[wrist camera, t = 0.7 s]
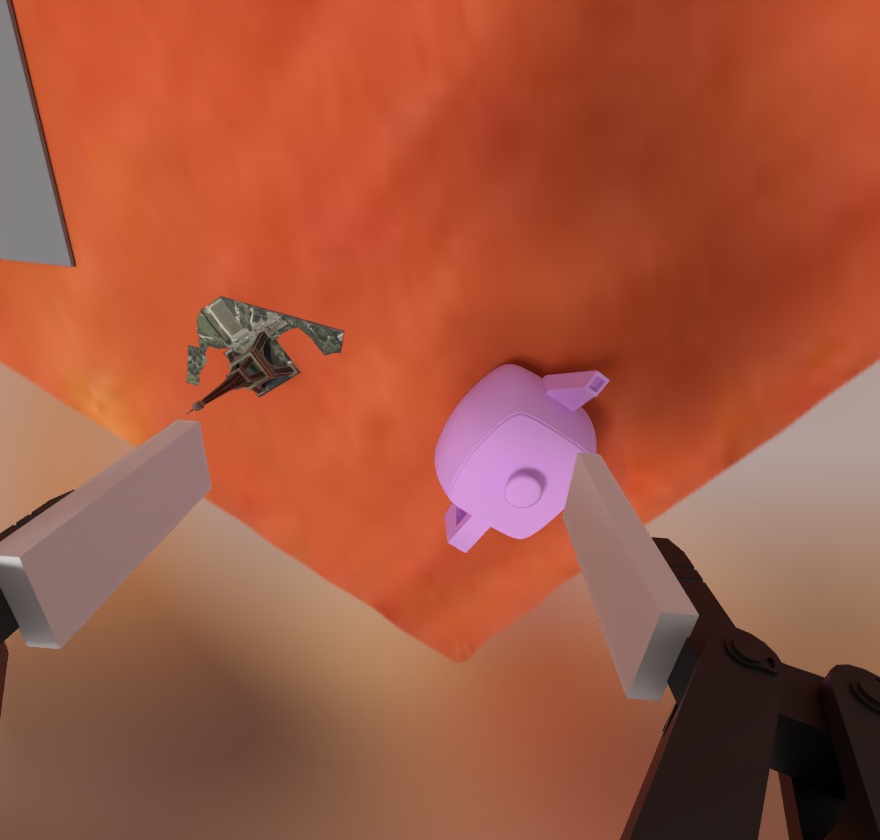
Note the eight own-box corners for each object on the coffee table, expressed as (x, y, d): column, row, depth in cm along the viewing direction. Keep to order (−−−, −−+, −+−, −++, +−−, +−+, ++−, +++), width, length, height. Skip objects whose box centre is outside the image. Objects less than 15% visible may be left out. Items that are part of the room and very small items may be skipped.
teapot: (498, 515, 49) (511, 604, 37) (406, 461, 46) (389, 539, 35) (621, 378, 42) (684, 435, 30) (519, 305, 39) (545, 338, 27)
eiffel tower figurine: (348, 328, 41) (302, 370, 29) (332, 420, 45) (285, 490, 33) (192, 286, 40) (75, 310, 28) (190, 384, 44) (87, 443, 32)
